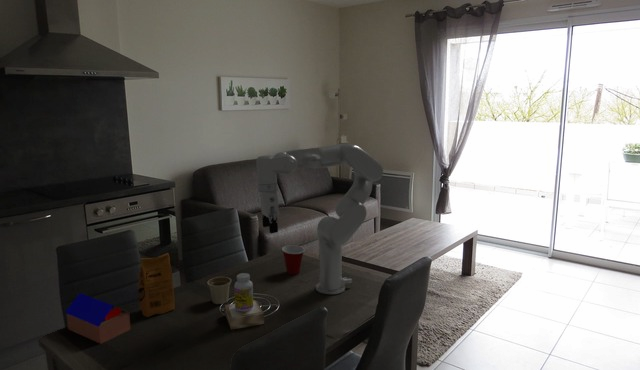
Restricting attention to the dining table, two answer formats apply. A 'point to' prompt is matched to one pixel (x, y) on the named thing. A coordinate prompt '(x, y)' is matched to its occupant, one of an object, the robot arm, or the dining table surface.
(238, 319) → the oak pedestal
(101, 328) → the house
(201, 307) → the dining table surface
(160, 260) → the coffee package
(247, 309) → the supplement bottle
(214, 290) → the flower pot
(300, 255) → the plastic cup
